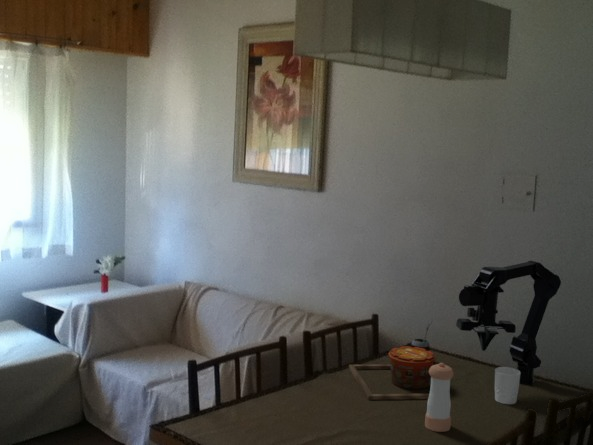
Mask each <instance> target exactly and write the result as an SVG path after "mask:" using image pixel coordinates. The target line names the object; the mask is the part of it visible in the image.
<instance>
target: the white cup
mask: <svg viewBox="0 0 593 445" xmlns="http://www.w3.org/2000/svg"><path fill="white" fill-rule="evenodd" d="M520 374H521V372H520V371H519V370H517V368H514V367H510V366H499V367H496V368H494V400H495V402H497V403H500V404H503V405H514V404H516V403H517V402H518V401H517V399H518V393H519V387H520V383H519V382H520Z"/></svg>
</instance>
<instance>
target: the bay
mask: <svg viewBox="0 0 593 445" xmlns="http://www.w3.org/2000/svg"><path fill="white" fill-rule="evenodd" d="M348 369H349V370H350V372H351V374H352V375H353V377H354V379H355V380H356V382H357V384H358V385H359V387H360V389H361V390H362V392H363V394H364V396H365V398H367V400H368V401H371V400H375V401H377V400H378V401H380V400H381V401H382V400H387V401H388V400H428V398H429V394H430V392H429V393H378V394H377V393H372V392H371V390H370V389H369V386H368V385H367V384H366V381H365V380H364V379H363V377H362V376H361V375H360V373H359V371H358V370H391V365H390V364H389V363H388V364H386V363H385V364H381V363H380V364H375V363H374V364H348Z"/></svg>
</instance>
